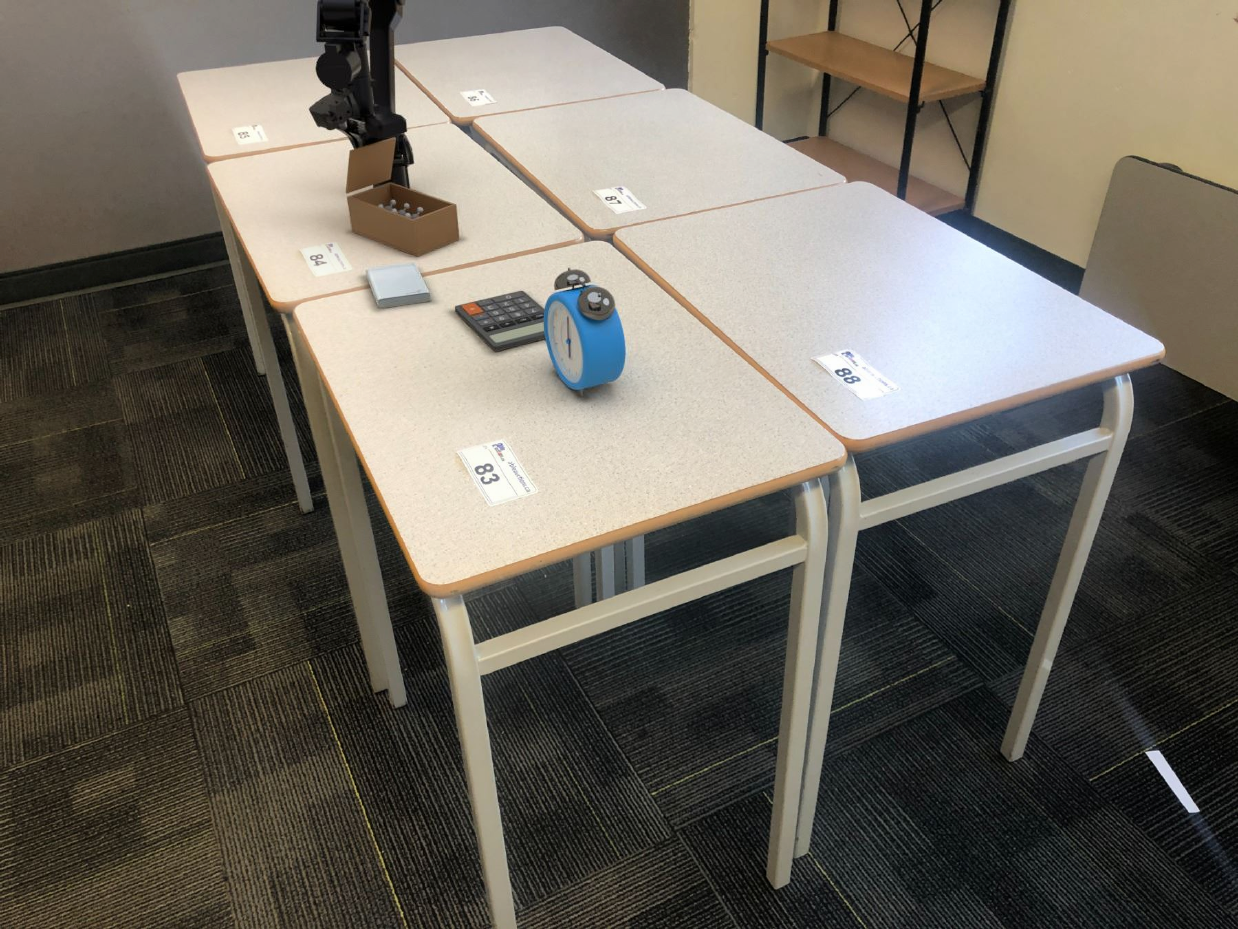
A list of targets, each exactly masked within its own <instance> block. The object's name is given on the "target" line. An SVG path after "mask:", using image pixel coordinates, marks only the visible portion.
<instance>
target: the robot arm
mask: <svg viewBox="0 0 1238 929" xmlns="http://www.w3.org/2000/svg"><path fill="white" fill-rule="evenodd" d="M316 3H317V4H316V24H315V25H316V26H315V27H316V28H315V30H316V31H315V35H316V36H315V42H316V43H323V44H324V46H323V47H324V52H323V53H322V54H321V55H319V57H317V59H316V63H315V74H316V76H317V78H318V80H319V81H320V83H322V85H323V86H325V87H326V88H328V89H330V93H328V94H326V95H324V96H323V97H321V98H319V100H317V101H315V102H314V103H313V104H312V105H311V106H310V107H309V108H308V111H309V113H310V115H311V117H312V119H313V121H314V123H315V125H316V127H318V128H323V129H325V130H327V131H334V130H337V131H339V132H341V133H342V134H343V135H345V136H346V137H347V139H348V141H349V142H350V144H351V146H352V148H353V149H356V148H360V147H363V146H366V145H370V144H373V143H376V142H380V141H383V140H387V139H390V138H393V137H395V138H396V142H395V149H394V157H393V164H392V172H391V179H390V180H386V181H383V182H380V183H377V184H374V185H372V188H375V187H378V186H381V185H384V184H387V183H390V182H391V183H394V184H397V185H400V186H403V187H406V188H409V189H412V190H414V189H413V188H411V185H410V184H411V183H410V177H409V176H410V175H409V166H411V165H414V164H415V157H414V152H413V147H412V145H411V143H410V140H409V138H408V136H407V135H406V133H408V124H407V119H406V118H405V117H404V115H402V114H398V113H396V112H397V110H396V68H395V65H396V63H395V31H396V29H397V28H398V26H399V24H400V23H401V21H402V19H403V17H404V16H403V14H404V13H403V12H404V11H403V10H404V6H405V5H406V0H317V2H316ZM367 39H368V40H367ZM367 41H368V48H369V51H368V49H367V43H366V42H367ZM368 52H369V54H368ZM368 56H369V57H368Z"/></svg>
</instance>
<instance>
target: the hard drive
mask: <svg viewBox="0 0 1238 929" xmlns="http://www.w3.org/2000/svg"><path fill="white" fill-rule="evenodd" d="M365 275H366V278H367V282H368V283H369V286H370V289H371V291H372V294H373V297H374V299H375V301H376V304H377V307H378V308H381V309H385V308H392V307H399V306H406V305H414V304H420V303H421V304H422V303H427V302H430V301H431V300H432V298H431V293H430V290H429V288H428V286H427V285H426V282H425V280H424V278H423V276H422V274H421V272H420V270H419V268H418V266H417V264H416V262H404V263H396V264H389V265H382V266H375V267H369V268H366V269H365Z"/></svg>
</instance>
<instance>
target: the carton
mask: <svg viewBox="0 0 1238 929" xmlns="http://www.w3.org/2000/svg"><path fill="white" fill-rule="evenodd" d="M412 189H413V188H410V189H409V188H406V187H403V186H400V185H397V184H394V183H391V182H390V183H387V184H384V185H381V186H378V187H375V188H373V187H371V188H368V189H366V190H363V191H360V192H356V193H354V194H351V195H349V196H346V202H347V207H348V215H349V220H350V227H351V232H352V233H355V234H357V235H360V236H362V237H365V238H367V239H369V240H372V241H375V242H378V243H381V244H383V245H386V246H388V247H391V248H394V249H395V250H399V251H401V252H403V253H407V254H408V255H412V256H414V257H417V258H418V257H421V256H423V255H426V254H428V253H430V252H433V251H434V250H437V249H439V248H443V247H445V246H447V245H450V244H452V243H455V242H457V241H459V240H460V239H461V238H460V230H459V219H458V206H457V203H454V202H450V201H447V200H445V199H441V198H438V197H436V196H433V195H430V194H427V193H424V192H422V191H421V192H420V191H418V190H415V189H413V190H412ZM391 200H395V201H396V204H395V205H394V206H393V205H392V207H391V208H392V209H396V210H397V212H398V211H399V210H404V204H406V203H407V204H409V206H410V207H409V209H406V210H405V212H406V213H409V214H410V215H411V216H412V215H413V214H417V213H418V211H417V209H418V208H419V207H421V208H423V212H422V213H419V215H418V216H419V217H418V218H415V219H411V218H408V217H406V216H403V215H400V214H397V213H394V212H392V211H389V210H386V209H383V208H380V207H378V205H379V204H381V205H383V207H384V208H385V207H386V206H390V205H391V204H390V201H391Z"/></svg>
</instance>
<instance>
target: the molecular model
mask: <svg viewBox="0 0 1238 929" xmlns="http://www.w3.org/2000/svg"><path fill="white" fill-rule="evenodd" d="M390 204H391V205H390V206H386V207H385V208H384V207H383V205H381V204H379V205H378V207H380V208H383V209H386V210H389V211H392V212H394V213H397V214H400V215H403V216H406V217H408V218H411V219H415V218H418V217H419V216H418V215H419V213H422V212H423V208H421V207H419V208H418V209H417V211H418V213H417V214H413V215H412V216H411V215H410V214H409V213H406V212H405V210H406V209H409V207H410V206H409V204H407V203H406V204H404V210H399V211H398V212H397V210H396V209H392V208H391V207H392V205H393V206H394V205H395V204H396V201H395V200H391V201H390Z"/></svg>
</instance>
